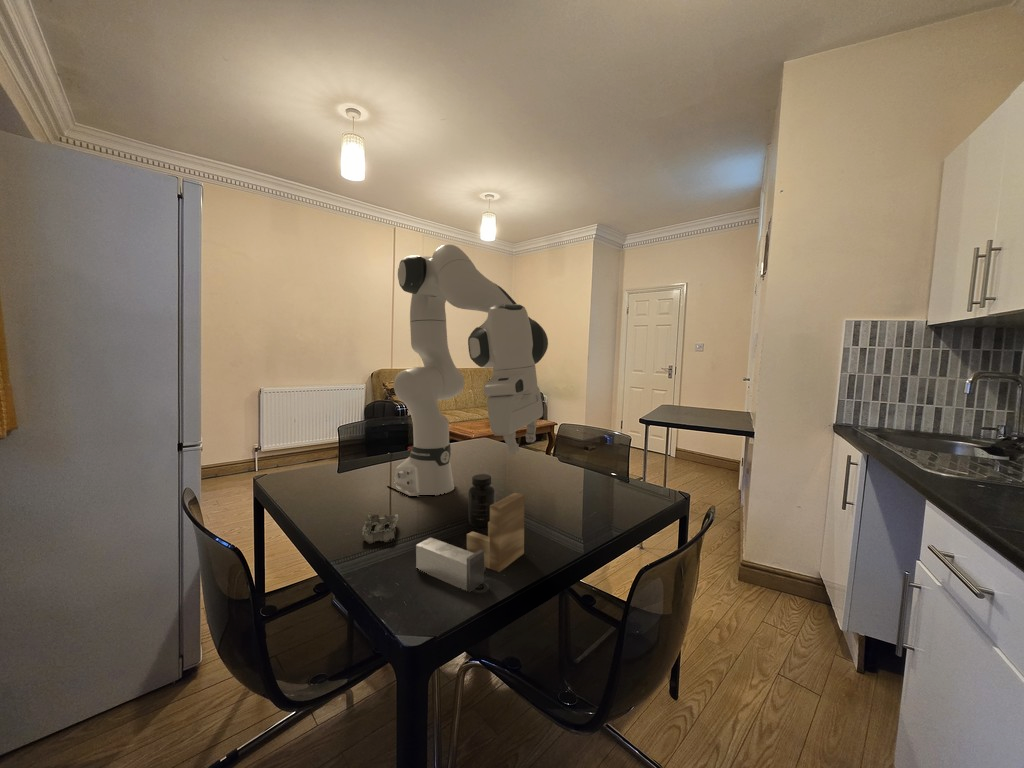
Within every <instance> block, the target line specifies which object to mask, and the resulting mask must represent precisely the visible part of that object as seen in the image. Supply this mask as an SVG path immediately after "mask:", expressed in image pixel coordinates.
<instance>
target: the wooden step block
mask: <svg viewBox="0 0 1024 768" xmlns="http://www.w3.org/2000/svg"><path fill="white" fill-rule="evenodd" d="M480 549H481V550H484V568H487V569H490V570H493V571H494V572H498V573H501V572H502V571H504V570H505V569H506V568H507V567H508V566H510V565H511V564H512V563H514V562H515V561H516V560H517V559H518V558H520V557H522V556H523V555H524V554H525V494H523V493H518V492H514V493H512V494H509V495H507V496H505V497H503V498H502V499H500V500H498V501H495V503H494V504H492V505H490V521H489V522H488V527H487V535H485V534H483V533H479V532H475V531H473V530H472V531H470V532H469V533H466V550H467V551H469V552H472V553H476V552H477V551H479V550H480Z"/></svg>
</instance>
